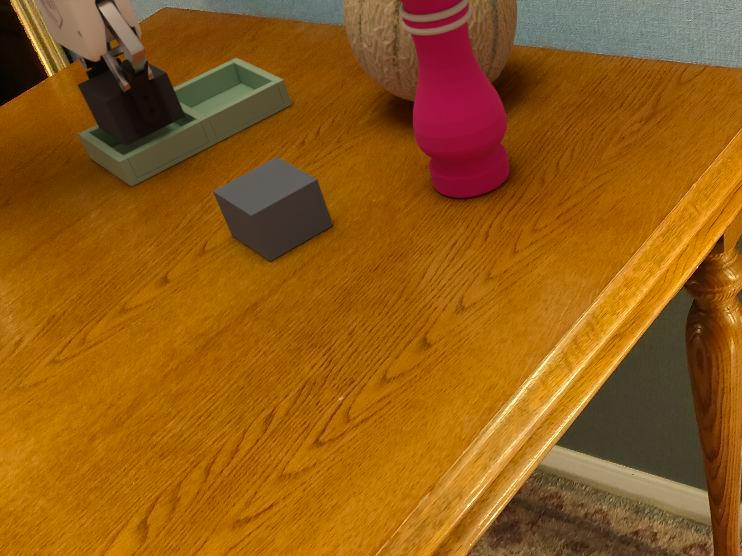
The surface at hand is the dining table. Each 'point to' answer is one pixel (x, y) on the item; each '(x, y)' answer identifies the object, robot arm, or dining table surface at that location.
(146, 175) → the holder
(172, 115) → the dark grey block
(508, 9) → the cantaloupe
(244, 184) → the grey square block
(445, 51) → the pepper mill
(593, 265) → the dining table surface
